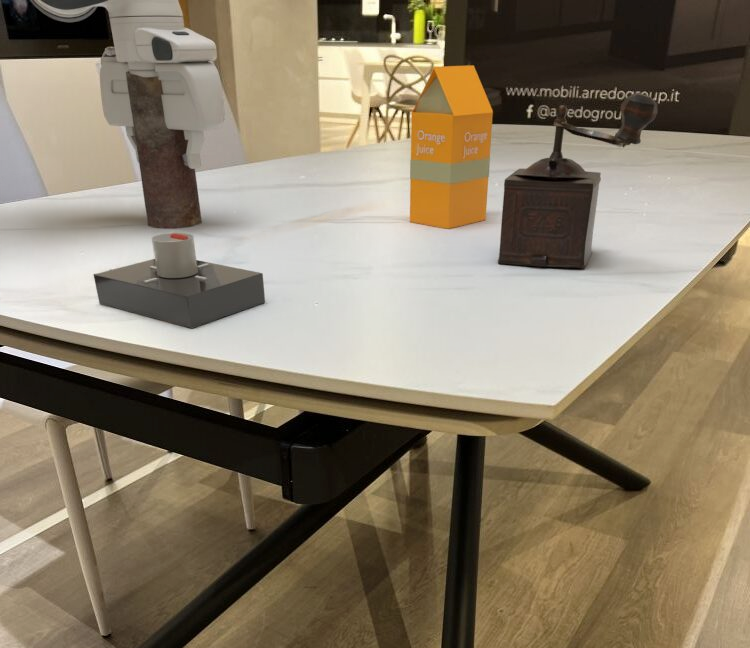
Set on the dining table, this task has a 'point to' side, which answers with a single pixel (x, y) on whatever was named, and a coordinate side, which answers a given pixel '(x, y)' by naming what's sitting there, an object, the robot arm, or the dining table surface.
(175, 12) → the robot arm
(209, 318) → the dark grey flat block
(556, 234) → the manual coffee grinder
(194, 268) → the knob
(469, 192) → the orange juice
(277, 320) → the dining table surface
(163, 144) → the rusty brown cylinder
